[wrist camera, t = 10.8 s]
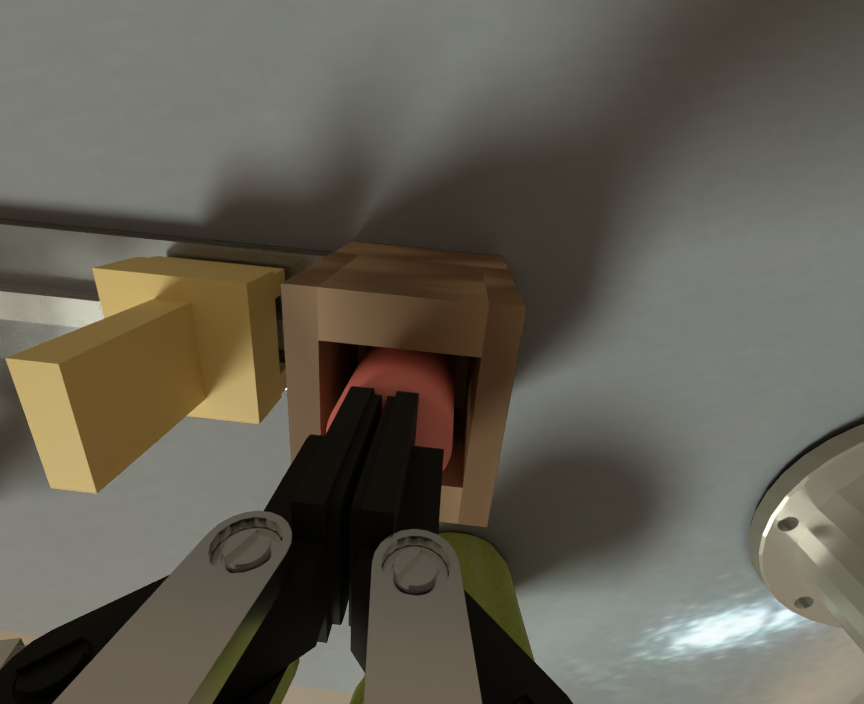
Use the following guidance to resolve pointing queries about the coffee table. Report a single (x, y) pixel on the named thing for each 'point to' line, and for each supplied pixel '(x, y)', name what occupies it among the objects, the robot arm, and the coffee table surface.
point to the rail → (74, 280)
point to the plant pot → (482, 589)
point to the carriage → (151, 364)
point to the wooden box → (409, 346)
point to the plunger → (412, 389)
